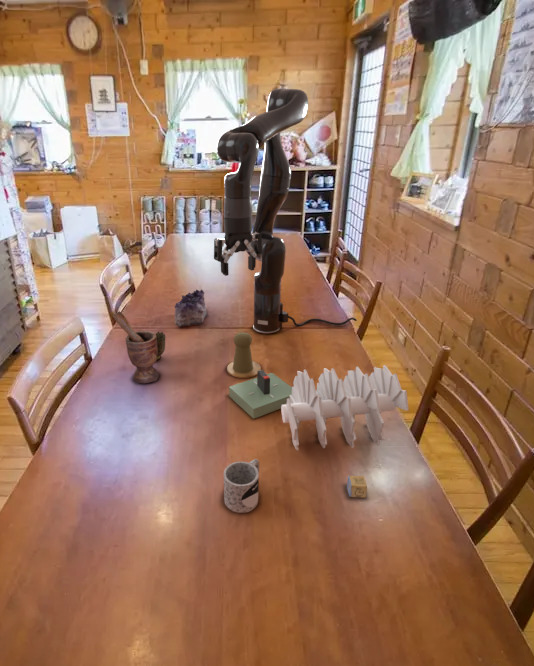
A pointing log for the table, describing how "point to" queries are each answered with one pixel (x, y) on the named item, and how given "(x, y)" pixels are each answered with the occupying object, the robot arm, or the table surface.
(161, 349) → the ornate metal bell
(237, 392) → the control panel
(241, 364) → the olive round-headed cylinder
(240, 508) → the grey thin strip
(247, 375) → the coaster
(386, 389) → the spiral staircase
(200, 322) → the geode
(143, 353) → the mortar and pestle
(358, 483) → the alphabet block
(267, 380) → the black block red tip
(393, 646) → the table surface
